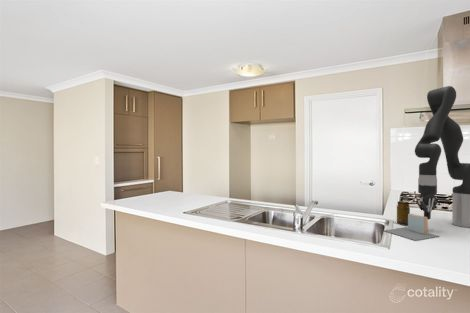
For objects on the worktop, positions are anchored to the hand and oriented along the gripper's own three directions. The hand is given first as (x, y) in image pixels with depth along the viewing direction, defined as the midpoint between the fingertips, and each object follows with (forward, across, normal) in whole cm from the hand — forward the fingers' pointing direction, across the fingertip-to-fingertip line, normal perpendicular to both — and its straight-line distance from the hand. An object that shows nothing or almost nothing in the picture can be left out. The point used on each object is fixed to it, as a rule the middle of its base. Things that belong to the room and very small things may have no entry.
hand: (427, 218), depth 131 cm
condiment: (+6, -3, -14) cm, 16 cm away
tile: (+6, +7, 0) cm, 9 cm away
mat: (+6, +12, 0) cm, 13 cm away
